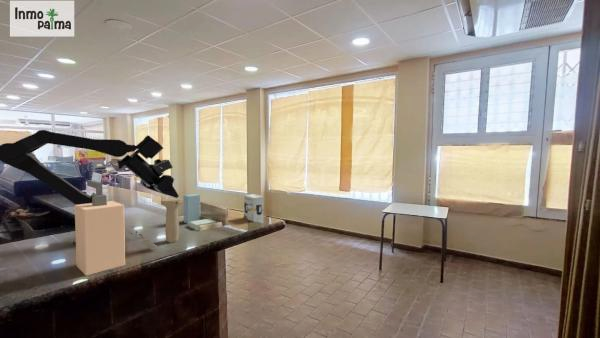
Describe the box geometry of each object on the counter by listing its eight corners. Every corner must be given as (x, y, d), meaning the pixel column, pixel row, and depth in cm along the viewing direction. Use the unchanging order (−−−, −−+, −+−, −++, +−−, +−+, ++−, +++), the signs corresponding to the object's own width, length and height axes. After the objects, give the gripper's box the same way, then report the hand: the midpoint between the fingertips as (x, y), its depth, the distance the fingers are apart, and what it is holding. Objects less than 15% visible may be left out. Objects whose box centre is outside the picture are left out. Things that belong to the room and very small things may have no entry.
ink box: (243, 221, 122) (243, 194, 121) (252, 219, 125) (252, 193, 124) (253, 225, 115) (254, 197, 115) (263, 223, 119) (263, 196, 118)
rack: (200, 234, 101) (200, 213, 101) (176, 223, 115) (176, 204, 115) (228, 228, 110) (228, 208, 109) (202, 219, 124) (202, 201, 123)
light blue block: (188, 227, 110) (187, 196, 109) (183, 225, 113) (183, 195, 112) (199, 225, 114) (199, 195, 113) (195, 223, 117) (195, 194, 116)
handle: (158, 246, 88) (158, 200, 87) (177, 241, 93) (176, 197, 92) (167, 249, 85) (166, 201, 84) (185, 244, 91) (185, 199, 90)
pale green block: (196, 230, 102) (196, 225, 102) (189, 226, 106) (189, 221, 106) (216, 226, 108) (216, 221, 107) (209, 223, 112) (209, 218, 112)
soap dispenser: (125, 265, 74) (123, 183, 72) (85, 275, 67) (83, 185, 66) (109, 253, 82) (107, 179, 80) (72, 261, 75) (69, 181, 74)
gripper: (167, 152, 96) (198, 182, 104) (148, 151, 108) (177, 178, 117) (143, 176, 90) (177, 205, 99) (126, 172, 103) (157, 198, 112)
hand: (172, 195), depth 107 cm, fingers open, 9 cm apart
